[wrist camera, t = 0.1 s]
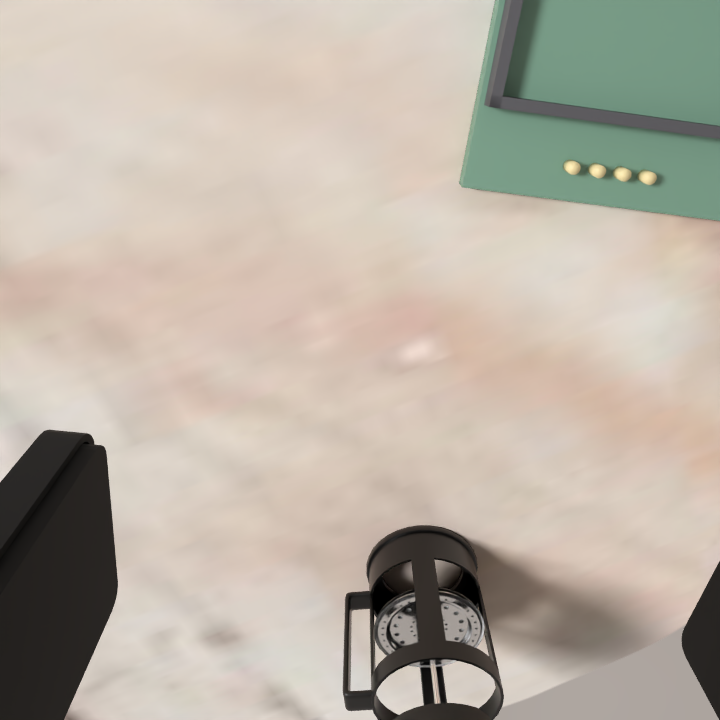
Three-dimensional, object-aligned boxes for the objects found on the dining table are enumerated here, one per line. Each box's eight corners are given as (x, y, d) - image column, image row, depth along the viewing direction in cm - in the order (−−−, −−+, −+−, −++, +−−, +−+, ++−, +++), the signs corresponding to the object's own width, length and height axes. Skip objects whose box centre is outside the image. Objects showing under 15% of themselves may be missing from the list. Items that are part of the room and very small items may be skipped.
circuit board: (534, -200, 29) (550, -223, 26) (858, -145, 30) (902, -162, 27) (459, 183, 37) (466, 192, 35) (716, 216, 38) (739, 228, 36)
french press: (484, 520, 49) (573, 854, 29) (484, 601, 54) (561, 943, 33) (341, 530, 50) (328, 866, 29) (352, 610, 54) (347, 951, 34)
